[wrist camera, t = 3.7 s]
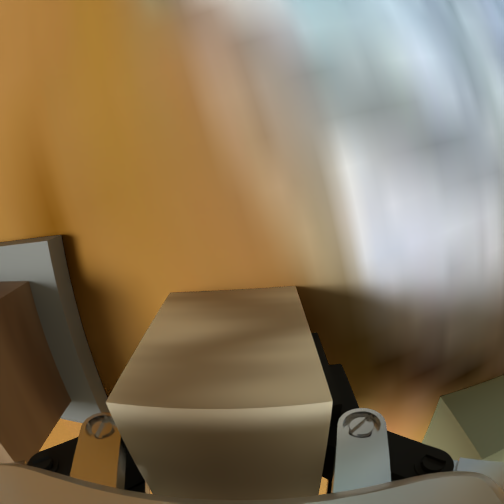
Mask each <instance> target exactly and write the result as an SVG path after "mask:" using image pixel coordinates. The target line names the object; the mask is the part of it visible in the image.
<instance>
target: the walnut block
mask: <svg viewBox="0 0 504 504" xmlns="http://www.w3.org/2000/svg"><path fill="white" fill-rule="evenodd" d="M70 402H71V399H70V396H69V394H68V392H67V390H66V388H65V385H64V383H63V381H62V378H61V376H60V374H59V371H58V369H57V366H56V364H55V361H54V359H53V356H52V354H51V351H50V348H49V345H48V343H47V340H46V337H45V334H44V331H43V328H42V325H41V322H40V319H39V316H38V312H37V309H36V306H35V302H34V299H33V295H32V292H31V288H30V284H29V281H2V282H0V463H12V462H17V461H23V460H25V461H26V462H27V463H28V461H29V460H30V458H31V457H32V456H33V455H34V454H36V453H38V452H39V450H40V449H41V447H42V445H43V444H44V442H45V441H46V439H47V437H48V436H49V434H50V433H51V431H52V430H53V428H54V427H55V425H56V424H57V422H58V420H59V419H60V417H61V416H62V414H63V413H64V411H65V410H66V408H67V407H68V405H69V404H70Z"/></svg>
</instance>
